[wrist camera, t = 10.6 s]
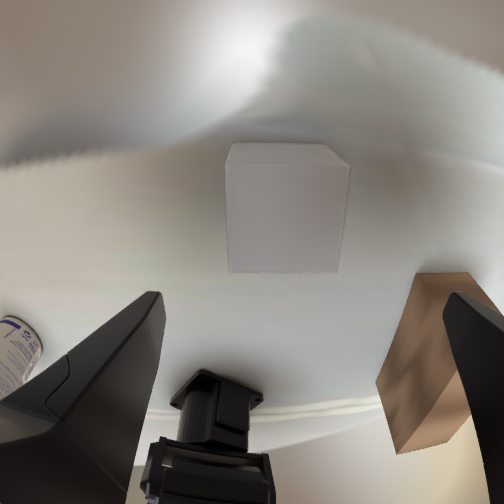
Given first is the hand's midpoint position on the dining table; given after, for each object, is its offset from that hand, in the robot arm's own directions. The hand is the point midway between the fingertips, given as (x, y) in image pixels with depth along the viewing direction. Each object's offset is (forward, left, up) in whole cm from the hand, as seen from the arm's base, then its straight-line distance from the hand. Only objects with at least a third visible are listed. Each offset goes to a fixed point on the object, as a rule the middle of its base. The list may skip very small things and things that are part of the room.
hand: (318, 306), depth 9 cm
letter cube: (0, 0, -10) cm, 10 cm away
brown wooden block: (-3, -16, -10) cm, 20 cm away
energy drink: (-25, +12, -10) cm, 30 cm away
